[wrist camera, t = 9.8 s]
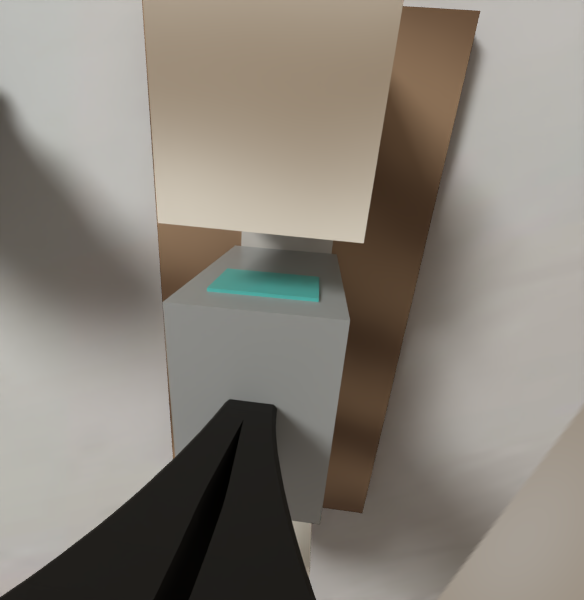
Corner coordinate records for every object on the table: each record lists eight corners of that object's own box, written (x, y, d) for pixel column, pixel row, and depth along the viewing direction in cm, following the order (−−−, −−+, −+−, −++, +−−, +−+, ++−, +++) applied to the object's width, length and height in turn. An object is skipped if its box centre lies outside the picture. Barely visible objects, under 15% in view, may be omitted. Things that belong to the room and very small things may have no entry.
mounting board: (360, 498, 21) (383, 689, 13) (181, 473, 22) (101, 641, 14) (467, 24, 12) (747, -270, 4) (154, 4, 13) (-123, -286, 5)
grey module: (320, 387, 16) (319, 524, 10) (234, 378, 17) (179, 505, 10) (336, 252, 14) (351, 316, 7) (235, 243, 14) (162, 298, 8)
